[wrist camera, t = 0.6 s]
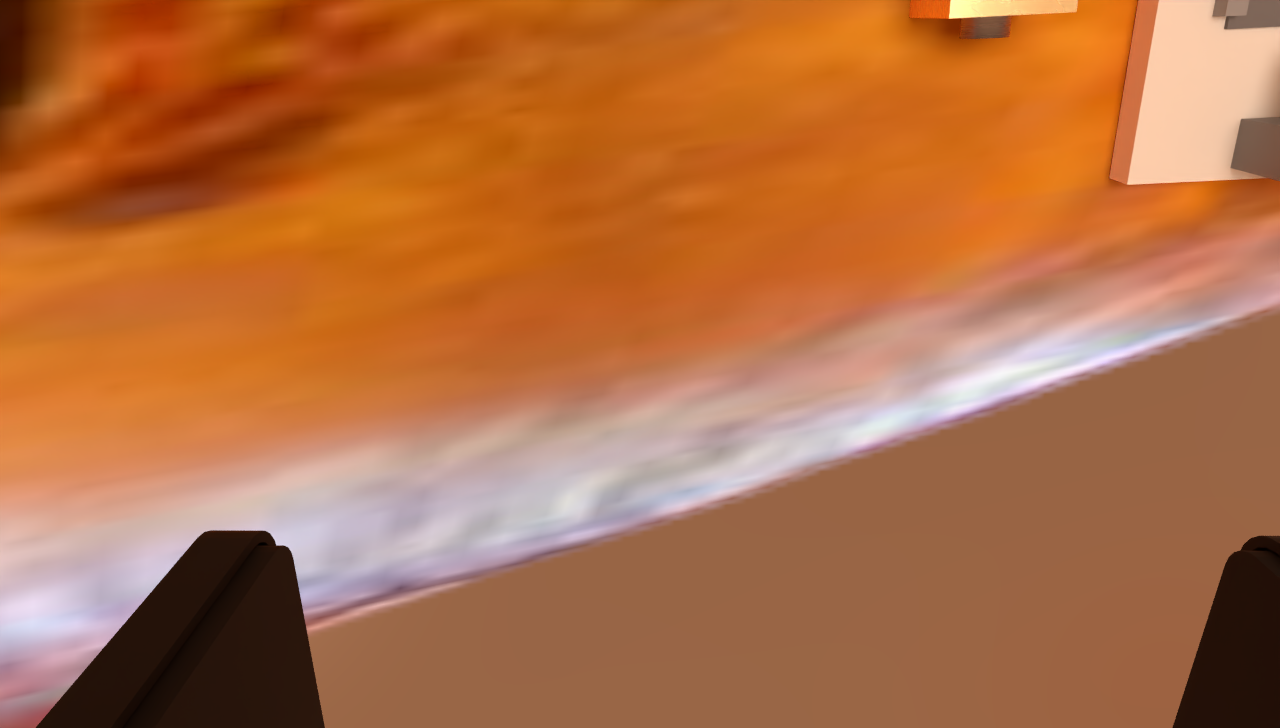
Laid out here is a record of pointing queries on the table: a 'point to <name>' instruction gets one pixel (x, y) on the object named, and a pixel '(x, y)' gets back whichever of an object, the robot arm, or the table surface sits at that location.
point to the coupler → (986, 13)
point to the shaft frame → (1201, 93)
